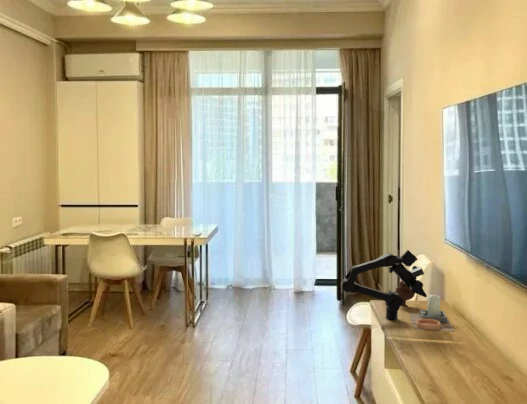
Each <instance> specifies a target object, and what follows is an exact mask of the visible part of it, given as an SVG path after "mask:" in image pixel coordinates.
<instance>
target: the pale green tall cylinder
mask: <svg viewBox="0 0 527 404" xmlns="http://www.w3.org/2000/svg"><path fill="white" fill-rule="evenodd" d="M440 306H441V296H440V295H436V294H429V295H427V308H426V310H427V316H434V317H439V311H441V310H440V308H441V307H440Z"/></svg>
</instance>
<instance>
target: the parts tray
mask: <svg viewBox="0 0 527 404" xmlns="http://www.w3.org/2000/svg"><path fill="white" fill-rule="evenodd" d="M419 313H420V317H421V319H433V320H436V321H439V322H442V323H447V319H448V317H447V315H446V313H445V312H444V310H439V317H434V316H427V309H419Z"/></svg>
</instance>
